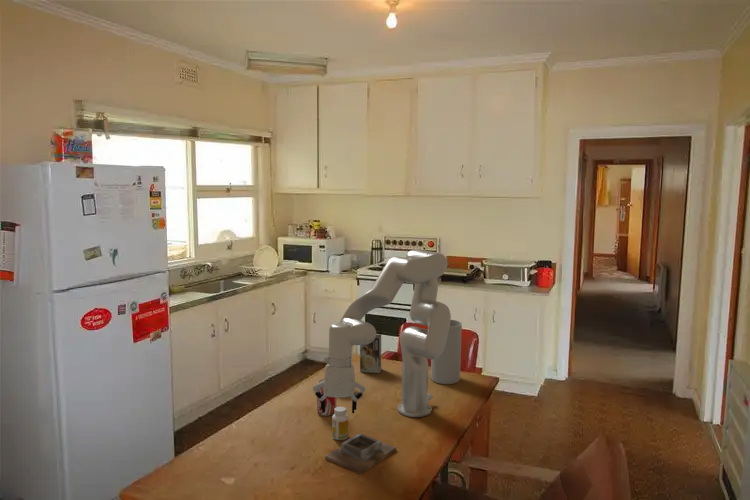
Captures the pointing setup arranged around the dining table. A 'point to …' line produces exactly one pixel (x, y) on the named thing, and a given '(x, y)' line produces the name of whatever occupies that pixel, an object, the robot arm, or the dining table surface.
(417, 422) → the dining table surface
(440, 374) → the cylinder vase
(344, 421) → the supplement bottle
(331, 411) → the soda can
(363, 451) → the holder
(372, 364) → the coffee box
